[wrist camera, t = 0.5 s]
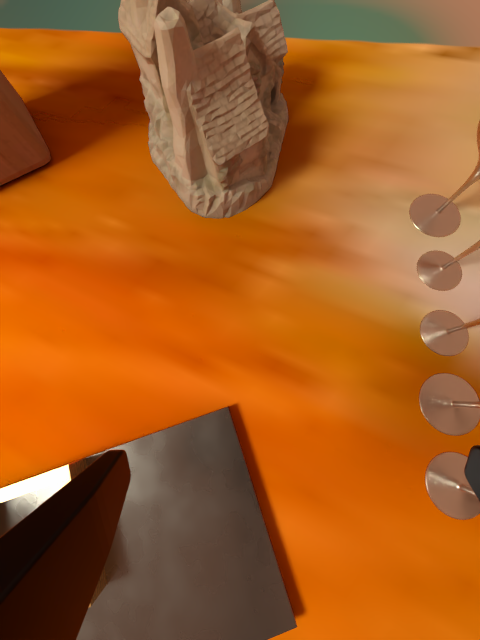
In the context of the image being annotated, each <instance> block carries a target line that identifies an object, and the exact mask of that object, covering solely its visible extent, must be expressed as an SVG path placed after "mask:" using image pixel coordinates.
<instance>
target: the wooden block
mask: <svg viewBox="0 0 480 640" xmlns="http://www.w3.org/2000/svg"><path fill="white" fill-rule="evenodd" d="M50 160H51V156H50V152H49V149H48V147H47V145H46V143H45V141H44V140H43V138H42V136H41V134H40V132H39V130H38V128H37V126H36V125H35V123H34V121H33V119H32V117H31V115H30V113H29V111H28V110H27V108H26V106H25V104H24V102H23V100H22V98H21V97H20V96H19V94H18V93H17V92H16V90H15V89H14V88H13V86H12V85H11V84H10V82H9V81H8V80H7V78H6V77H5V76H4V74H3V73H2V72H1V71H0V186H1V185H3V184H5V183H7V182H9V181H11V180H13V179H16V178H18V177H20V176H22V175H24V174H26V173H28V172H31V171H33V170H35V169H37V168H39V167H41V166H43V165H45V164H47V163H48V162H49V161H50Z"/></svg>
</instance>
